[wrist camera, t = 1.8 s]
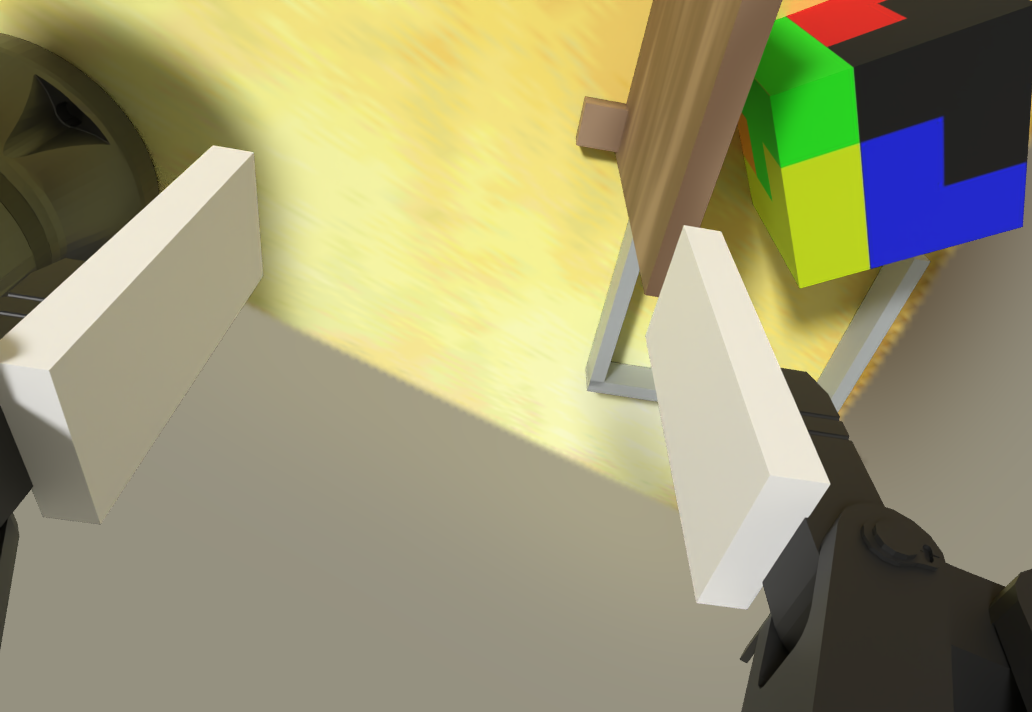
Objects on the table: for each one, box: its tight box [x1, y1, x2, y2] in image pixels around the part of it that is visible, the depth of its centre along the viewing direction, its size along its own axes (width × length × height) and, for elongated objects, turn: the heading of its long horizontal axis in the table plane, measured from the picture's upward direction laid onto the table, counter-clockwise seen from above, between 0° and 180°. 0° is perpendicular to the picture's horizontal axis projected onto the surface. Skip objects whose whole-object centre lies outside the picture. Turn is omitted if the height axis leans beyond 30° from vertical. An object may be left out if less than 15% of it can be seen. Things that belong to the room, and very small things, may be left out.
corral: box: [586, 221, 931, 412], centre depth 46 cm, size 18×14×2 cm
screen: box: [576, 0, 782, 297], centre depth 29 cm, size 6×15×16 cm, turn 171°
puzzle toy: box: [738, 0, 1032, 288], centre depth 34 cm, size 10×10×10 cm
